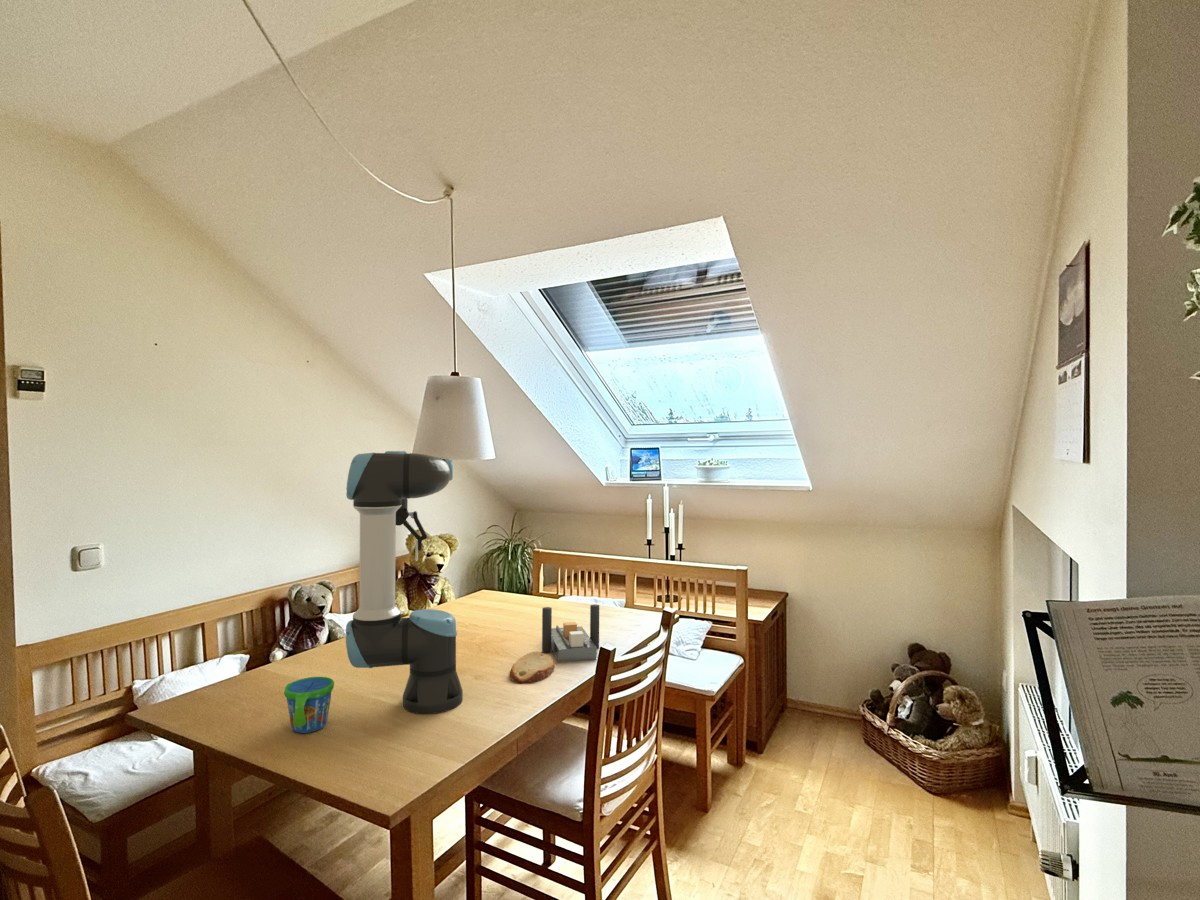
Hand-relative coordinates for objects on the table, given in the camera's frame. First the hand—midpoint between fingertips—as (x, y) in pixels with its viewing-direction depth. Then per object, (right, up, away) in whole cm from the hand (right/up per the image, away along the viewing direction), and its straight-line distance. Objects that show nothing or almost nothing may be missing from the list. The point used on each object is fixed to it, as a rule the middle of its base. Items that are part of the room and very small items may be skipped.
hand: (395, 561), depth 203 cm
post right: (+66, -29, -1) cm, 72 cm away
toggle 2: (+61, -25, -11) cm, 66 cm away
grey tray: (+59, -29, -3) cm, 65 cm away
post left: (+51, -28, -5) cm, 58 cm away
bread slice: (+48, -29, -21) cm, 60 cm away
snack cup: (-1, -29, -59) cm, 65 cm away
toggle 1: (+58, -24, -1) cm, 63 cm away
